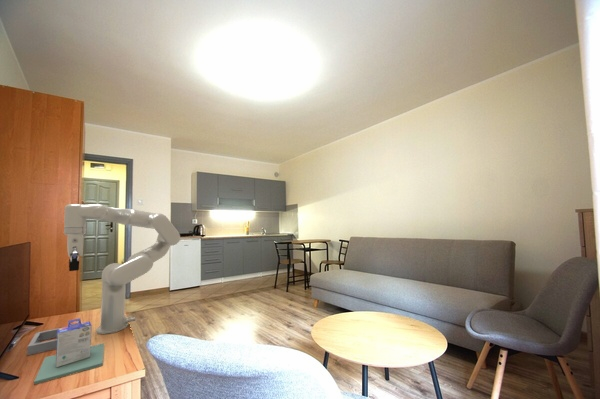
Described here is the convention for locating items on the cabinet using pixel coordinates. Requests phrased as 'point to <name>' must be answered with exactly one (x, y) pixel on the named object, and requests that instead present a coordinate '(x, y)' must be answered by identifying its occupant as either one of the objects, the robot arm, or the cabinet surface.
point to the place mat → (69, 365)
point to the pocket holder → (43, 346)
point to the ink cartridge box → (73, 342)
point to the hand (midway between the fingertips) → (73, 268)
